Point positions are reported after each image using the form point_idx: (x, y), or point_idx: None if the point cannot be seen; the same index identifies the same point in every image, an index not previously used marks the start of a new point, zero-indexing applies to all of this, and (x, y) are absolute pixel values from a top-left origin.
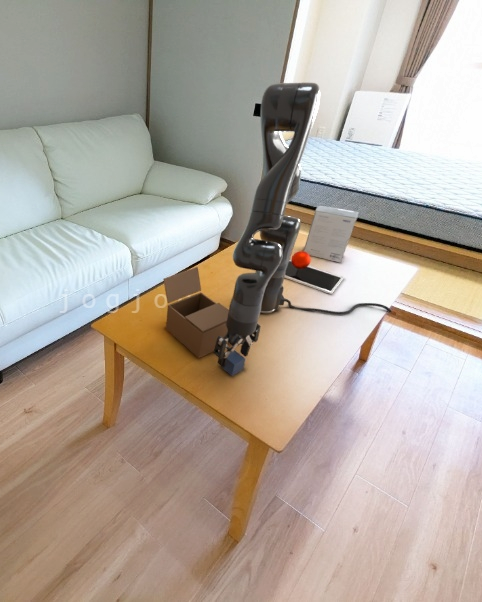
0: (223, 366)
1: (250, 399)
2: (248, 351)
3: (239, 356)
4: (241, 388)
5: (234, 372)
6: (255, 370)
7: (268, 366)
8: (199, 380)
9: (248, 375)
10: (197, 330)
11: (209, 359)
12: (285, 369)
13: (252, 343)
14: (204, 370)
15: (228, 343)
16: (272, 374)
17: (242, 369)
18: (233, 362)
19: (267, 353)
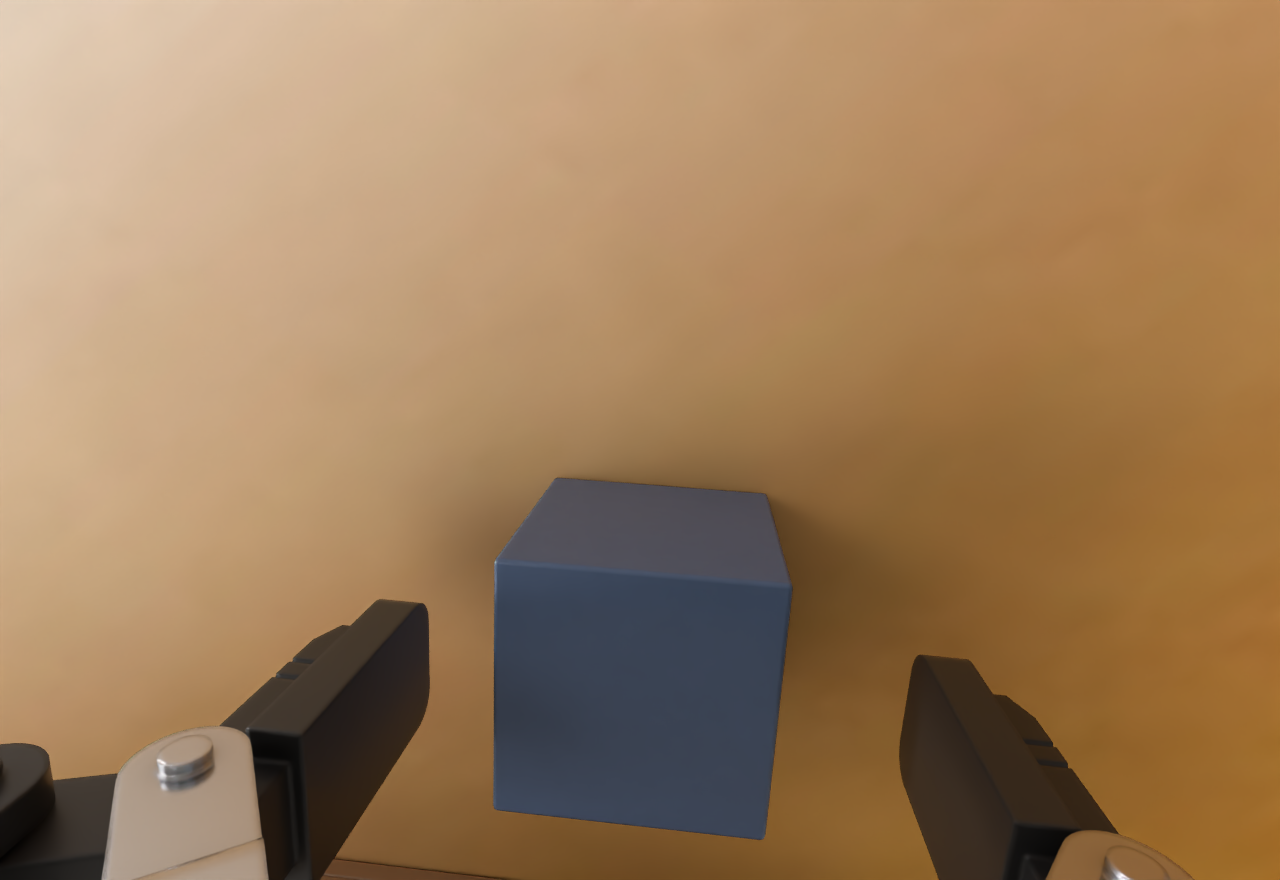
0: (975, 674)
1: (915, 36)
2: (336, 644)
3: (545, 660)
4: (842, 263)
5: (727, 505)
6: (416, 372)
7: (210, 316)
8: (1171, 689)
9: (567, 368)
10: None
11: None
12: (44, 136)
13: (138, 760)
14: None
15: (361, 865)
16: (271, 181)
17: (563, 483)
18: (756, 631)
19: (54, 478)
